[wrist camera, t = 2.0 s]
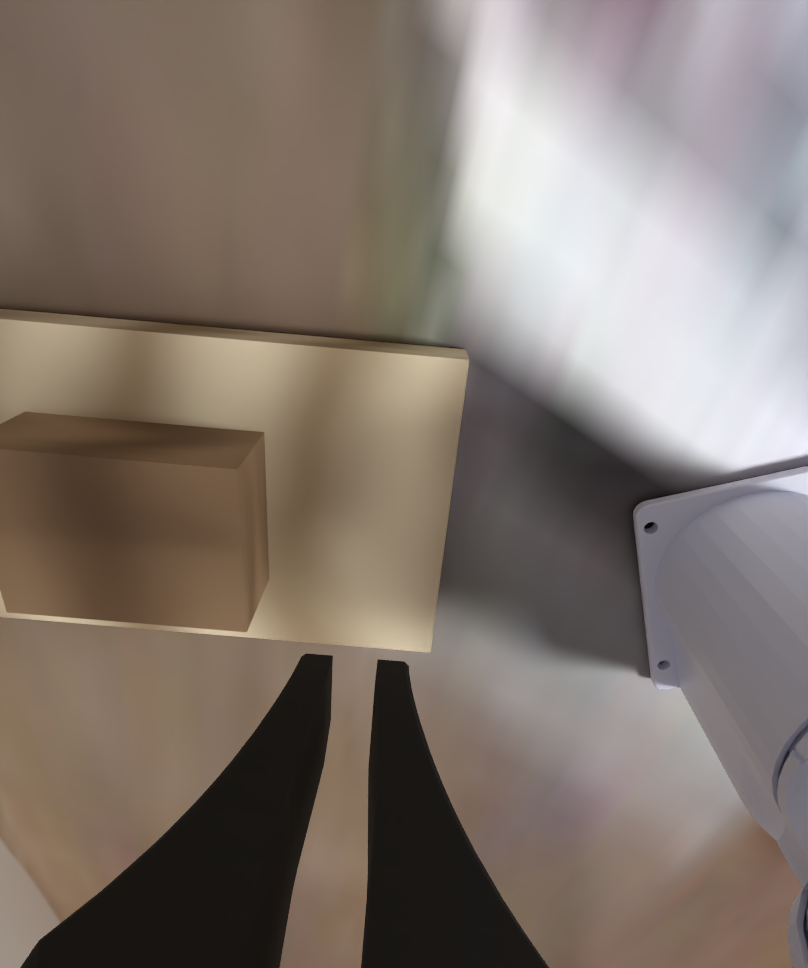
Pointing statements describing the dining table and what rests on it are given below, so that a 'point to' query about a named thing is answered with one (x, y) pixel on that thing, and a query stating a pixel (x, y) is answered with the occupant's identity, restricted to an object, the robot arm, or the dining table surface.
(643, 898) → the dining table surface
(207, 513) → the tan cardboard box
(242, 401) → the board
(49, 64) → the dining table surface
